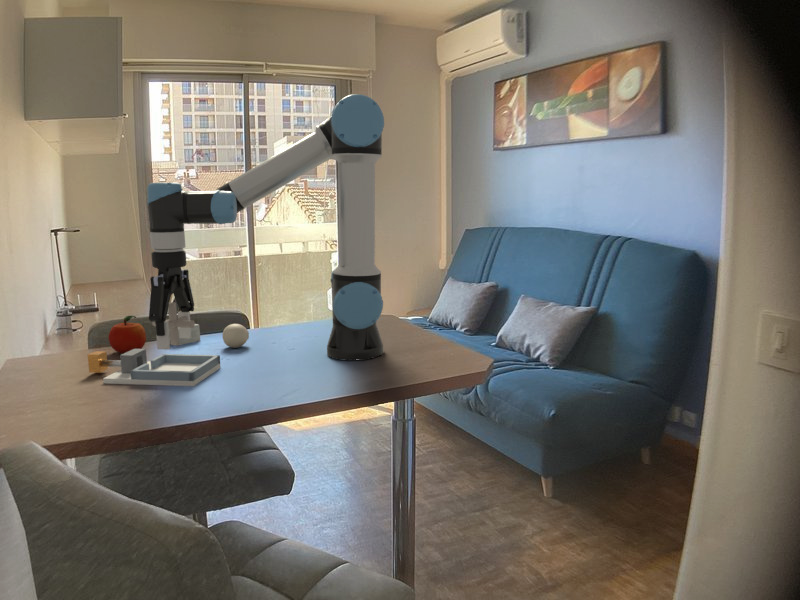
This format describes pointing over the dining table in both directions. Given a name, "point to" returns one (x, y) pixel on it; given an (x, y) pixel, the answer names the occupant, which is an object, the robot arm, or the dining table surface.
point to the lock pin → (101, 362)
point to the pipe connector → (176, 323)
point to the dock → (163, 369)
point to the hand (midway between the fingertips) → (175, 343)
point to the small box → (194, 336)
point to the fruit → (127, 336)
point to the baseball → (235, 335)
